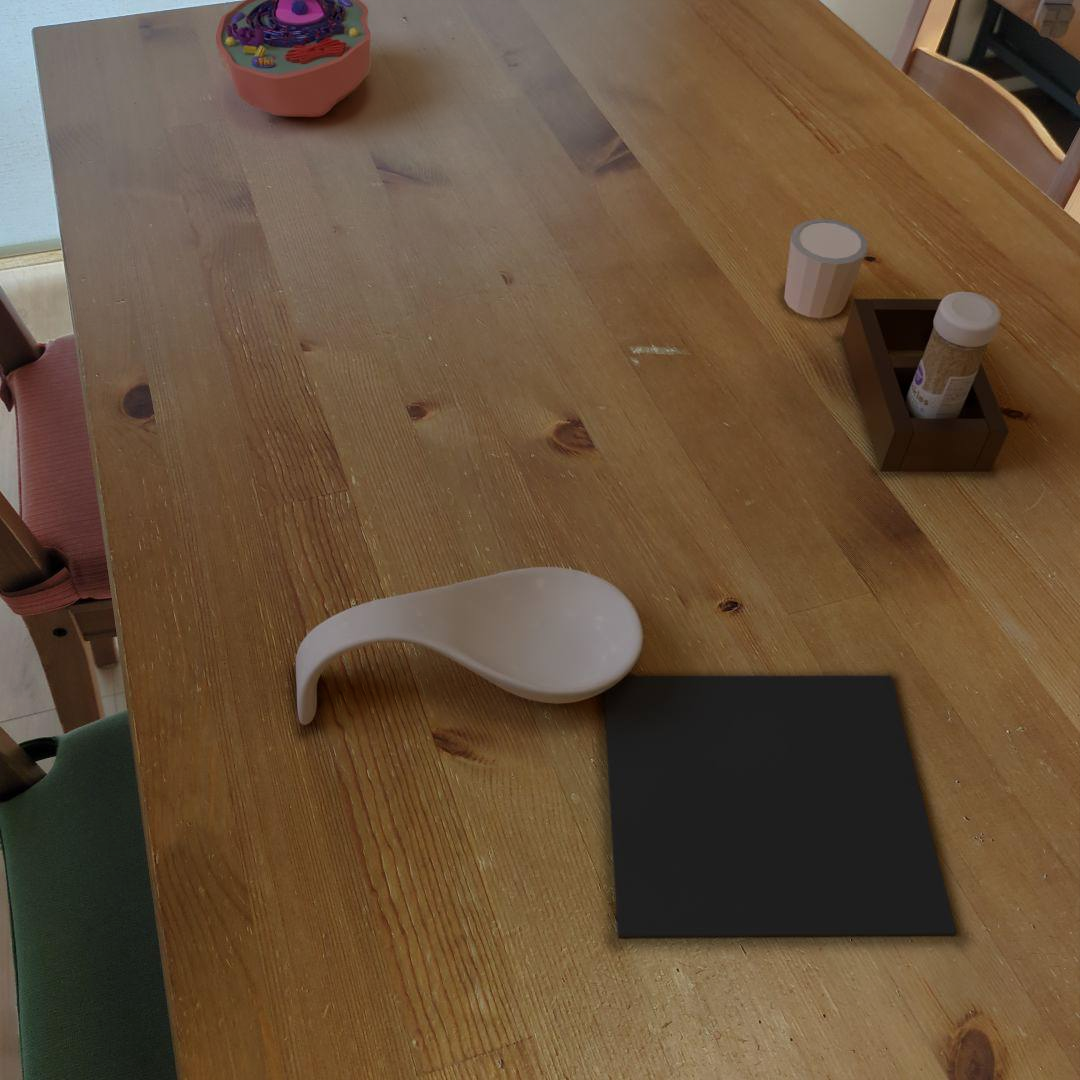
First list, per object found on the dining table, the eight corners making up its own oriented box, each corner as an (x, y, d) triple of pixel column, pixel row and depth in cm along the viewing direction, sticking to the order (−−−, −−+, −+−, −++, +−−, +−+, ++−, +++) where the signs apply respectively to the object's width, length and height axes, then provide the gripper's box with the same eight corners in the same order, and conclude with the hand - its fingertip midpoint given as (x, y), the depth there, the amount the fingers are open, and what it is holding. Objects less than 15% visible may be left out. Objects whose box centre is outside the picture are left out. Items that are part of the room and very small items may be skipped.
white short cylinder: (842, 280, 107) (859, 217, 102) (857, 326, 102) (876, 262, 97) (771, 280, 107) (785, 217, 101) (783, 326, 102) (798, 263, 97)
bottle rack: (939, 343, 101) (956, 298, 97) (988, 475, 91) (1009, 431, 87) (840, 342, 101) (853, 298, 97) (879, 475, 90) (895, 431, 87)
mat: (888, 681, 78) (891, 675, 77) (953, 938, 66) (957, 933, 65) (602, 682, 77) (603, 675, 77) (617, 941, 66) (618, 936, 65)
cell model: (199, 136, 121) (175, 33, 113) (267, 50, 134) (250, -49, 125) (347, 157, 119) (334, 53, 110) (402, 68, 132) (394, -31, 123)
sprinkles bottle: (884, 422, 94) (929, 293, 84) (932, 413, 95) (983, 285, 85) (908, 460, 92) (958, 331, 81) (958, 450, 92) (1014, 322, 82)
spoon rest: (617, 590, 82) (620, 518, 78) (661, 714, 74) (668, 642, 69) (295, 642, 79) (277, 571, 74) (303, 778, 71) (283, 708, 66)
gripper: (1318, -108, 51) (1178, 163, 62) (1165, -247, 64) (1072, -4, 75) (1181, -112, 51) (1065, 159, 62) (1057, -250, 64) (979, -7, 75)
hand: (1068, 69), depth 68 cm, fingers open, 8 cm apart
